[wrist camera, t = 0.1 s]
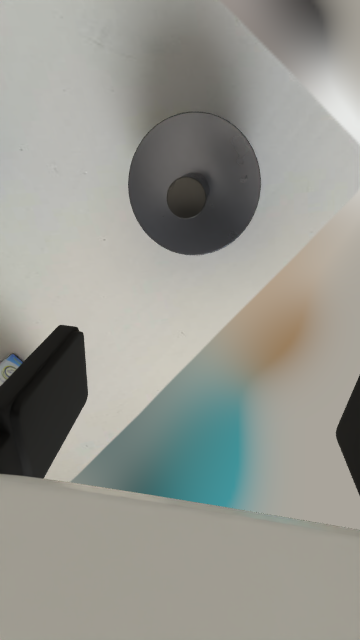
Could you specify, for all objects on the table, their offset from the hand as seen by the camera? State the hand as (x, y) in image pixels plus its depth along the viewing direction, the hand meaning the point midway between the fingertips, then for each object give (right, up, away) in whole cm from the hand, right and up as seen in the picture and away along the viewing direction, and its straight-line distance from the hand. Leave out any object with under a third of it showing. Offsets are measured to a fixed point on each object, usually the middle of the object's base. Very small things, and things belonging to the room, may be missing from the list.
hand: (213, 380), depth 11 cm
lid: (0, +12, +13) cm, 18 cm away
